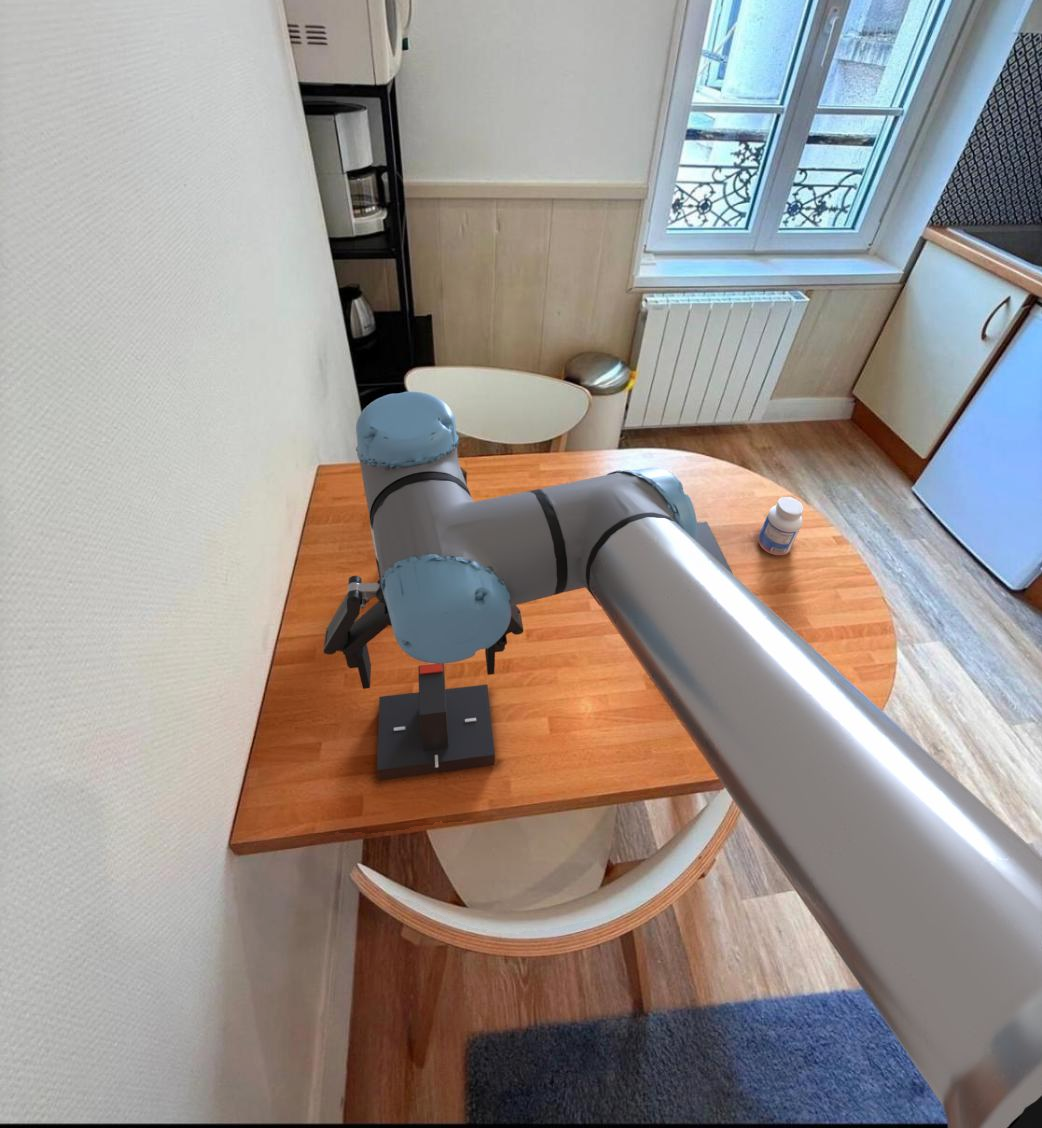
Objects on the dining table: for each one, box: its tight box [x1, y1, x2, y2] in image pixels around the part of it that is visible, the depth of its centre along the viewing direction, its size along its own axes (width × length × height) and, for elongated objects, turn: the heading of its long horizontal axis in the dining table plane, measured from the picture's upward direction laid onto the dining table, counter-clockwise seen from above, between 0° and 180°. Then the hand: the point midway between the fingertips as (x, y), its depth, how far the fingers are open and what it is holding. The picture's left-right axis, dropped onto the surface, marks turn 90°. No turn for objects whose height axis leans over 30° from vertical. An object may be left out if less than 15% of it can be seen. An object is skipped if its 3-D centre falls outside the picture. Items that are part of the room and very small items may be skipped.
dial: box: [417, 663, 449, 751], centre depth 73 cm, size 6×3×9 cm, turn 8°
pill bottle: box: [757, 496, 804, 556], centre depth 103 cm, size 6×5×10 cm
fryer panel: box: [376, 684, 496, 781], centre depth 77 cm, size 10×14×3 cm
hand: (429, 670), depth 68 cm, fingers open, 13 cm apart
